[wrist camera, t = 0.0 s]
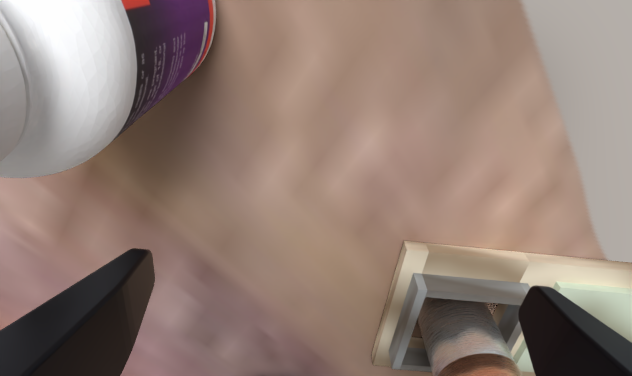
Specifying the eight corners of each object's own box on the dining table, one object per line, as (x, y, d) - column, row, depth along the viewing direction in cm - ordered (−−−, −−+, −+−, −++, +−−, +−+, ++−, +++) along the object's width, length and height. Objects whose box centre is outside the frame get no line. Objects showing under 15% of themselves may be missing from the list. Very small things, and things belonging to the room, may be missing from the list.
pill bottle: (247, -30, 19) (113, -16, 6) (186, 109, 22) (21, 294, 10) (77, -139, 17) (-599, -425, 4) (38, 32, 20) (-402, 143, 8)
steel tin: (472, 334, 32) (531, 474, 23) (408, 329, 31) (442, 469, 23) (494, 286, 29) (570, 423, 20) (425, 280, 29) (471, 416, 20)
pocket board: (598, 372, 34) (618, 401, 32) (371, 354, 33) (375, 383, 31) (678, 267, 28) (709, 293, 26) (403, 240, 27) (411, 266, 25)
